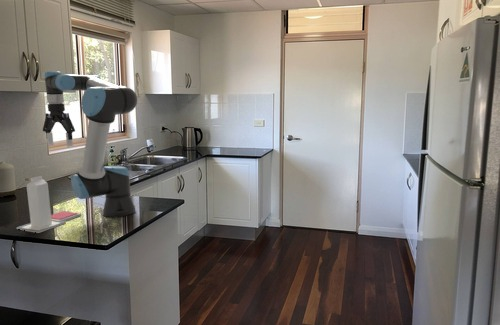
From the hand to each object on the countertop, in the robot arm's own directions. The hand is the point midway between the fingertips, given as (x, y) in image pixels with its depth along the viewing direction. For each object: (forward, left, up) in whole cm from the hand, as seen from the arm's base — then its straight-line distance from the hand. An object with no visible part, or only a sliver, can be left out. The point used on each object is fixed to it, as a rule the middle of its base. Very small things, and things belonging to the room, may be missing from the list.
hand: (60, 145), depth 206 cm
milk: (-14, +25, -32) cm, 43 cm away
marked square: (-14, +26, -33) cm, 44 cm away
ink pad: (-12, +13, -33) cm, 37 cm away
